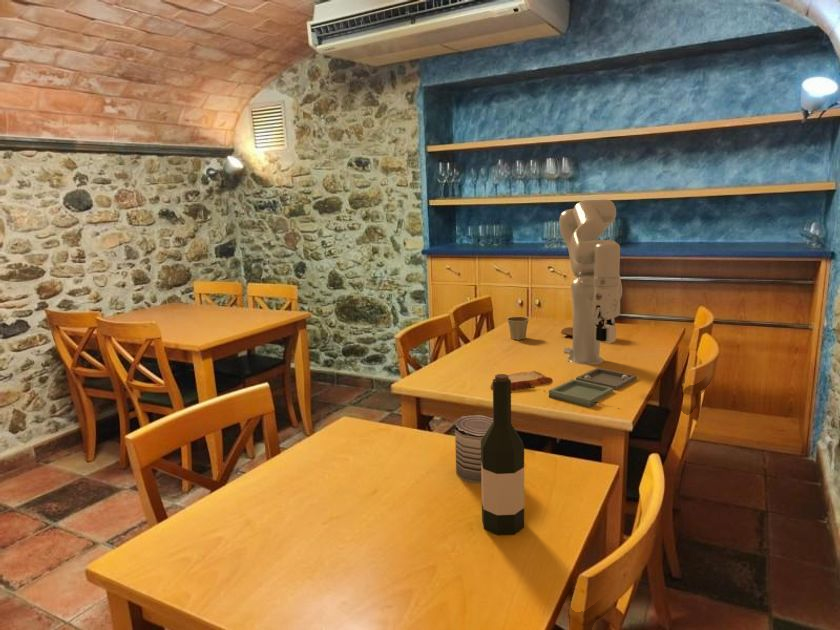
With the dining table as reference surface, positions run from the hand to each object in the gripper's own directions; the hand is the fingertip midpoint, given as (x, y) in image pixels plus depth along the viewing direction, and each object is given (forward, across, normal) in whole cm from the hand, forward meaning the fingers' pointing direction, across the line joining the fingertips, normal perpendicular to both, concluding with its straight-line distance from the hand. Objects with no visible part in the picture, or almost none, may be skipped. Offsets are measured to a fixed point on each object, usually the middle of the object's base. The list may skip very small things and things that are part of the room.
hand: (604, 338), depth 189 cm
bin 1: (+16, -14, +1) cm, 21 cm away
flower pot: (+15, +34, +57) cm, 68 cm away
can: (+17, -73, -6) cm, 75 cm away
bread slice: (+16, -16, +21) cm, 31 cm away
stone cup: (+15, +53, +36) cm, 66 cm away
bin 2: (+15, +2, 0) cm, 16 cm away
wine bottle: (+17, -87, -23) cm, 92 cm away
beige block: (+1, 0, 0) cm, 1 cm away
